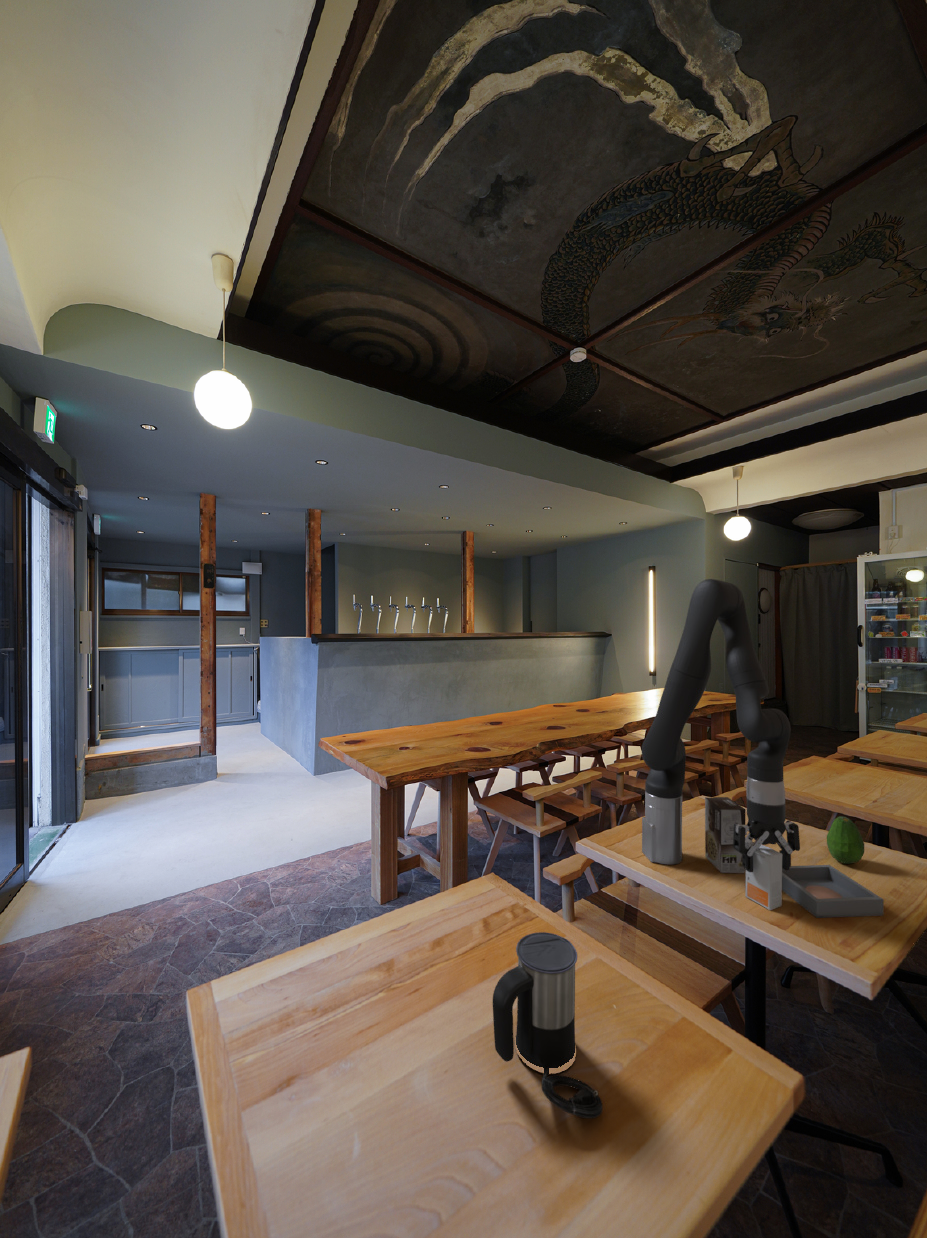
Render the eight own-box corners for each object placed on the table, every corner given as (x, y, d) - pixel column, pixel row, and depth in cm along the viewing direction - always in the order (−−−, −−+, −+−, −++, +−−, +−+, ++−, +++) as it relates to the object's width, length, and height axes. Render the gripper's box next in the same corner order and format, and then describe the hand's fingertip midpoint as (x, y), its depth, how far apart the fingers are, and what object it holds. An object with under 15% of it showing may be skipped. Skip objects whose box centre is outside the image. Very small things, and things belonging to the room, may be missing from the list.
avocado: (821, 861, 133) (822, 815, 133) (832, 852, 138) (832, 808, 138) (859, 873, 127) (859, 826, 127) (868, 864, 132) (869, 818, 132)
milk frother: (536, 1014, 83) (536, 923, 83) (631, 1069, 73) (631, 966, 72) (482, 1075, 72) (482, 971, 72) (585, 1150, 62) (586, 1030, 62)
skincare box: (744, 897, 117) (744, 845, 116) (756, 893, 118) (757, 842, 118) (770, 911, 111) (770, 857, 111) (782, 906, 113) (783, 853, 113)
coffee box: (746, 873, 127) (746, 809, 127) (720, 873, 127) (720, 809, 127) (728, 856, 136) (728, 796, 136) (704, 856, 136) (704, 796, 136)
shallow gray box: (816, 918, 109) (817, 901, 109) (770, 881, 124) (770, 866, 124) (883, 915, 110) (883, 899, 109) (829, 879, 125) (829, 864, 124)
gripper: (746, 805, 110) (747, 880, 110) (807, 802, 111) (809, 876, 111) (725, 793, 118) (726, 863, 118) (783, 791, 119) (784, 860, 119)
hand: (766, 869), depth 115 cm, fingers open, 8 cm apart
